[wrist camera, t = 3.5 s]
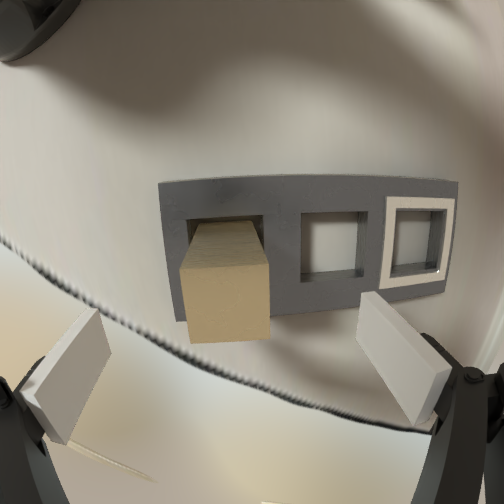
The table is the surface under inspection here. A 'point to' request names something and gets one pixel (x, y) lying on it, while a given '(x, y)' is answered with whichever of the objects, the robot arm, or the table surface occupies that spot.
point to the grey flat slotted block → (289, 233)
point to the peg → (226, 284)
